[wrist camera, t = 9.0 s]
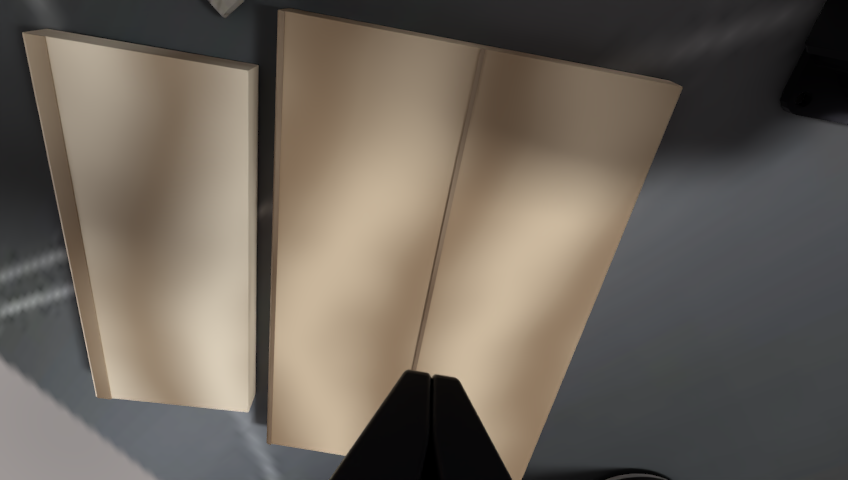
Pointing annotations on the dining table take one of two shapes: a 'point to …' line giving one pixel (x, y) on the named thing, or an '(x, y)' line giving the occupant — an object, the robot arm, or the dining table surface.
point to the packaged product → (225, 6)
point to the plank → (155, 212)
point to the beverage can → (636, 477)
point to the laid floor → (440, 222)
